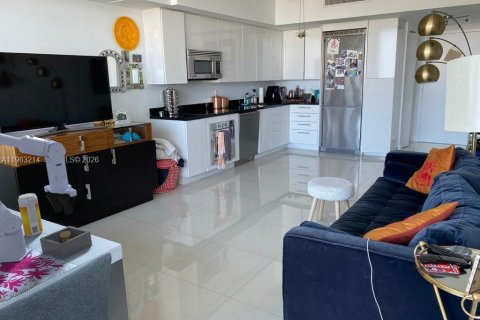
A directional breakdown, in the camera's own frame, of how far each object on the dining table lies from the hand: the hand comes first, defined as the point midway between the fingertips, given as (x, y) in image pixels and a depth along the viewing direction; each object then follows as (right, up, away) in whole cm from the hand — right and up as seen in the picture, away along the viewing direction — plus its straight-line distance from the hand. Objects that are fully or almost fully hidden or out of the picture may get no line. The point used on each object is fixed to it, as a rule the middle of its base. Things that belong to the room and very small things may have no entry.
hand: (63, 212), depth 129 cm
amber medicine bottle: (-15, -9, +8) cm, 19 cm away
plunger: (+4, -11, -5) cm, 12 cm away
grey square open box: (+4, -11, -5) cm, 13 cm away
